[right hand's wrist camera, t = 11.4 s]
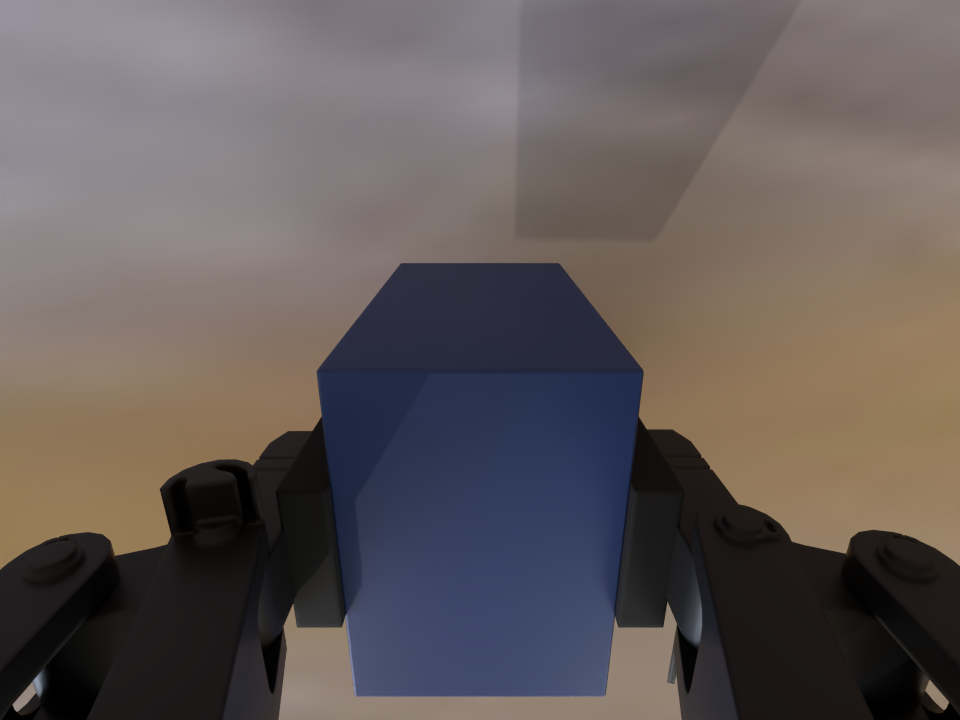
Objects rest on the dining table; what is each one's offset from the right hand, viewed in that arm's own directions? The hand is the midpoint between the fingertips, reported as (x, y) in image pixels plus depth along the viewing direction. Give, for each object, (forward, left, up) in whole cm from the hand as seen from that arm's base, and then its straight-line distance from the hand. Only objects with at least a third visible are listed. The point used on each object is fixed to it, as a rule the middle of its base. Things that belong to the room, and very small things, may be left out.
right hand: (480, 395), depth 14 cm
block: (0, 0, -2) cm, 2 cm away
